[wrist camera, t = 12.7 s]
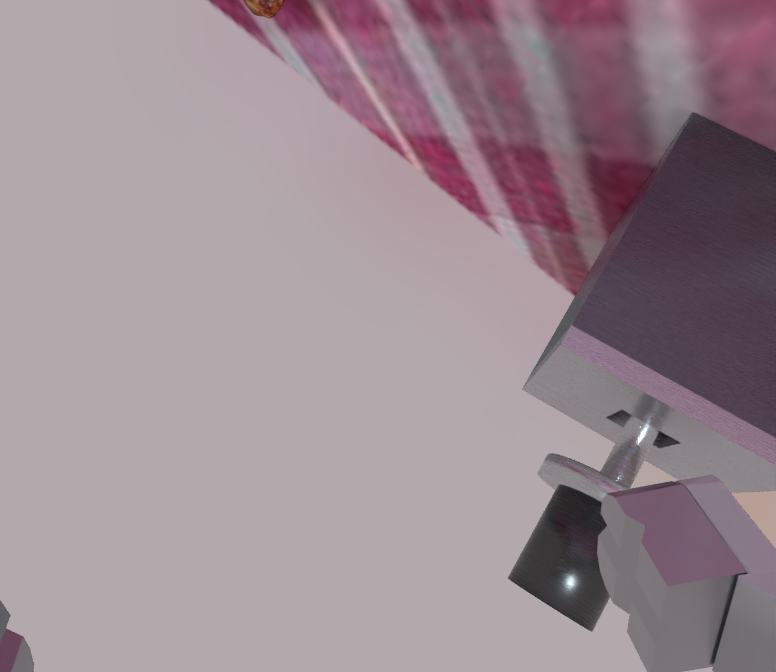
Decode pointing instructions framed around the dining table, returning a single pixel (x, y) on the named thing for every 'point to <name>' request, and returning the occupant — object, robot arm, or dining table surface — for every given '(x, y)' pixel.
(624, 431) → the plunger
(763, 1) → the dining table surface
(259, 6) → the croissant
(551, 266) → the dining table surface
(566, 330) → the matte gray cube
